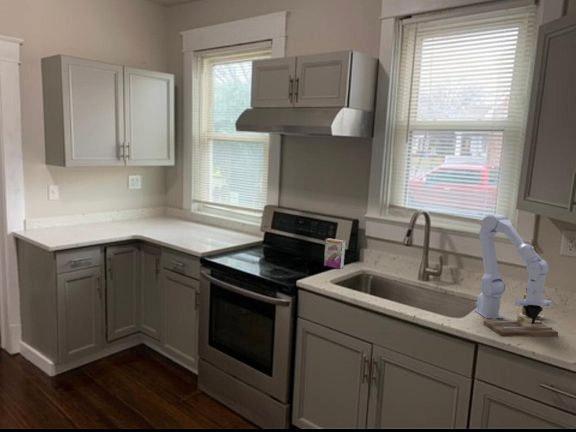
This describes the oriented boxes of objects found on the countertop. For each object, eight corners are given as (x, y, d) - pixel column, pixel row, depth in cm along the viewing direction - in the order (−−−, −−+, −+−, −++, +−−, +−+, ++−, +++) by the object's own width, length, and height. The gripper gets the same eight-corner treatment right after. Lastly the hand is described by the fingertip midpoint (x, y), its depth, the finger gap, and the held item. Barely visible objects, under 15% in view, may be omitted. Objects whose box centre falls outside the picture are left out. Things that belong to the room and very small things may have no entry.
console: (483, 324, 180) (484, 318, 180) (536, 324, 183) (537, 318, 183) (501, 336, 168) (501, 330, 168) (557, 335, 172) (558, 330, 171)
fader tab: (516, 323, 178) (517, 314, 177) (523, 323, 178) (524, 314, 178) (523, 328, 173) (525, 319, 173) (530, 328, 174) (532, 319, 173)
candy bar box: (323, 266, 261) (325, 239, 259) (326, 264, 265) (328, 237, 263) (340, 269, 256) (342, 241, 253) (343, 267, 260) (345, 240, 258)
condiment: (523, 311, 199) (526, 285, 198) (544, 316, 194) (547, 290, 192) (518, 314, 194) (522, 288, 192) (539, 320, 188) (543, 293, 187)
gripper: (525, 293, 169) (520, 326, 171) (559, 293, 171) (554, 326, 173) (513, 287, 176) (509, 320, 178) (546, 288, 178) (541, 320, 180)
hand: (530, 322), depth 176 cm, fingers closed
